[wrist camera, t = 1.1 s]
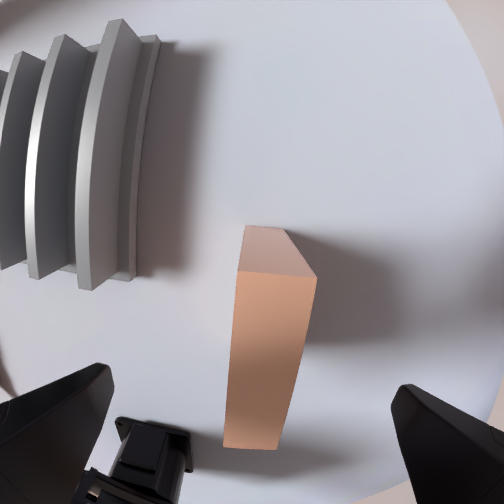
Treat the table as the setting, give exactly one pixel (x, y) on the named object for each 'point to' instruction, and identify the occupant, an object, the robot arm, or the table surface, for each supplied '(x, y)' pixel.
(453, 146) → the table surface
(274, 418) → the terracotta plate
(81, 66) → the dish rack
